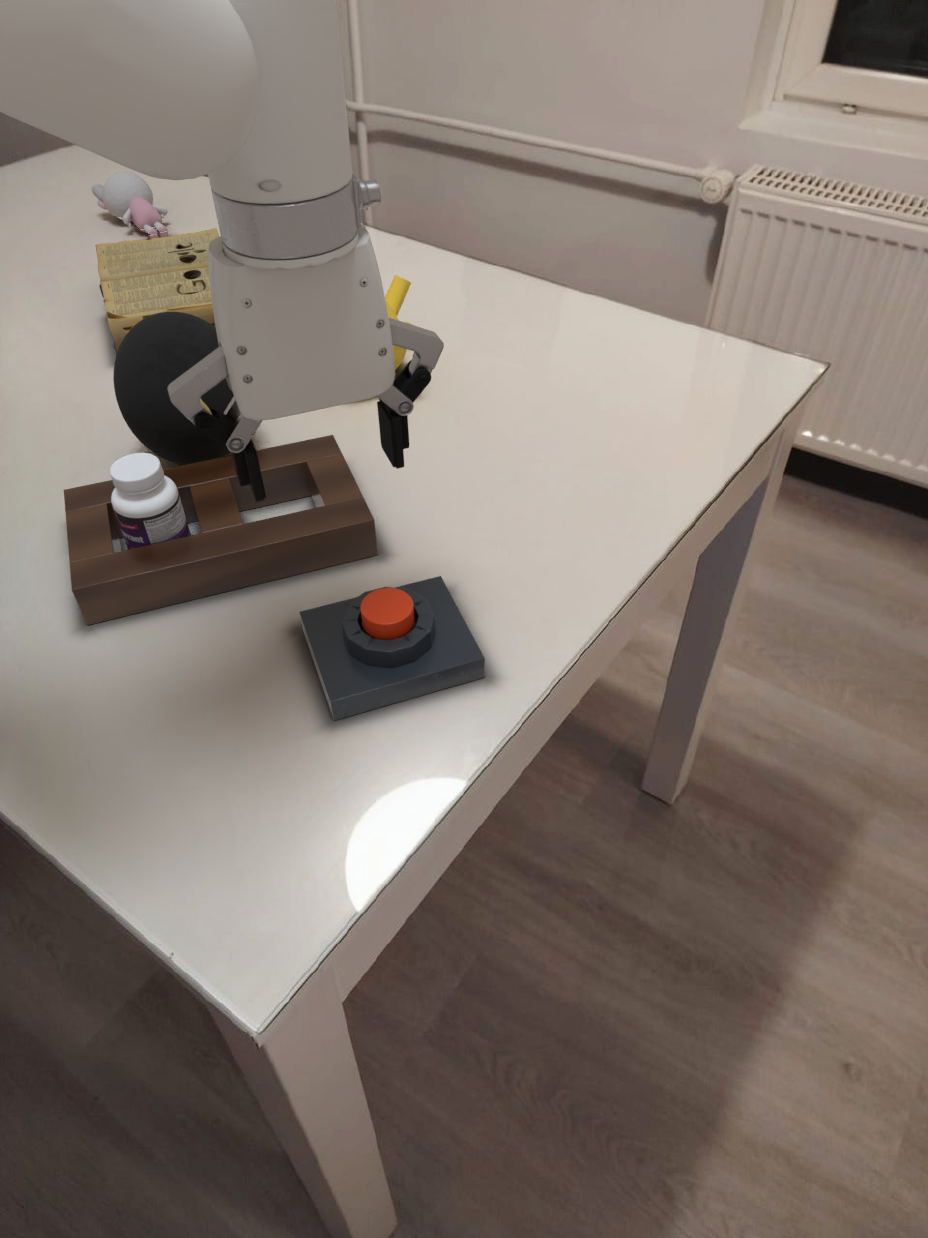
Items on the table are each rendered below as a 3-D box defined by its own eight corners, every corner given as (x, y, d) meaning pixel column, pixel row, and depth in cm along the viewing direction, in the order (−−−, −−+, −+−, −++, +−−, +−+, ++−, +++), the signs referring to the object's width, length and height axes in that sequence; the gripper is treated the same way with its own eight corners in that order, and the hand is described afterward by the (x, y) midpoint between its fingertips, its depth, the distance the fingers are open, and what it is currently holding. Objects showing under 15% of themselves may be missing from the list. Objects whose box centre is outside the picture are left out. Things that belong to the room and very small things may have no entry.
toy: (189, 254, 134) (141, 191, 137) (187, 215, 128) (137, 150, 131) (138, 268, 130) (91, 202, 134) (134, 229, 124) (84, 161, 128)
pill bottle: (123, 554, 78) (89, 463, 71) (178, 529, 80) (150, 439, 73) (150, 585, 75) (117, 494, 68) (206, 559, 77) (180, 468, 70)
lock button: (370, 646, 64) (368, 629, 63) (356, 611, 67) (354, 594, 66) (421, 632, 65) (420, 616, 64) (405, 598, 68) (404, 582, 67)
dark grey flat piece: (333, 721, 64) (327, 685, 61) (302, 630, 71) (295, 595, 68) (484, 677, 67) (485, 641, 64) (441, 594, 74) (440, 559, 71)
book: (256, 341, 106) (247, 293, 101) (116, 365, 102) (100, 316, 97) (224, 262, 122) (215, 218, 118) (102, 280, 118) (88, 235, 114)
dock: (378, 555, 77) (374, 519, 75) (87, 625, 71) (71, 590, 68) (337, 468, 87) (333, 434, 84) (77, 524, 81) (63, 489, 78)
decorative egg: (287, 444, 90) (263, 305, 79) (205, 508, 82) (166, 363, 72) (198, 412, 94) (164, 276, 84) (112, 469, 87) (63, 328, 76)
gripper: (414, 171, 52) (425, 419, 64) (117, 215, 48) (190, 472, 60) (459, 215, 47) (463, 474, 59) (133, 268, 43) (209, 536, 55)
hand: (326, 473), depth 59 cm, fingers open, 9 cm apart
